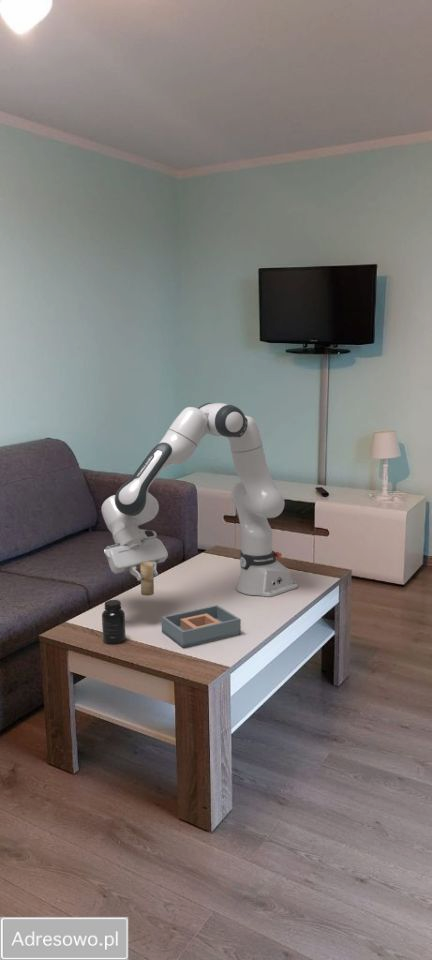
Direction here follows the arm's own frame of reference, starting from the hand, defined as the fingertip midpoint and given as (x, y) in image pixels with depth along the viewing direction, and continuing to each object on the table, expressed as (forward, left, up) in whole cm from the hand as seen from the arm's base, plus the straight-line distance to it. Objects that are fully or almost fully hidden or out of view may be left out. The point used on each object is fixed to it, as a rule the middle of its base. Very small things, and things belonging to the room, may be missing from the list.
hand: (148, 577), depth 227 cm
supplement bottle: (+14, +5, -16) cm, 22 cm away
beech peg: (0, -1, -5) cm, 5 cm away
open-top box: (-11, +14, -16) cm, 24 cm away
